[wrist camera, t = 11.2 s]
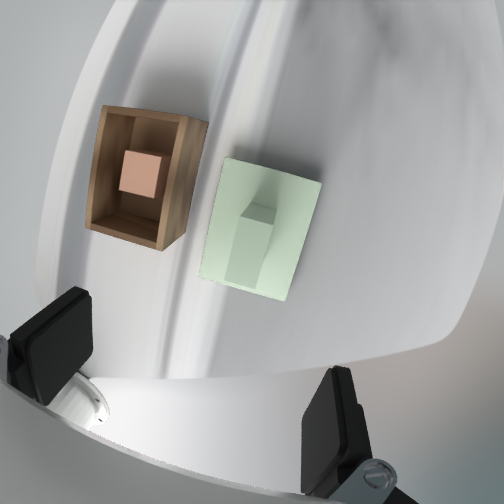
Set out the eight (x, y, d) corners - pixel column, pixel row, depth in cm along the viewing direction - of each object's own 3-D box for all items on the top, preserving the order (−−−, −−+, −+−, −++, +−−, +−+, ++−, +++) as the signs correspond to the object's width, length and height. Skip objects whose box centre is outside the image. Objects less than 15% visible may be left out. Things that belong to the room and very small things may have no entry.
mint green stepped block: (285, 292, 32) (282, 335, 24) (203, 269, 32) (178, 305, 24) (319, 181, 28) (330, 192, 20) (229, 156, 28) (207, 159, 21)
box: (184, 232, 31) (162, 251, 25) (117, 213, 31) (85, 227, 25) (208, 122, 27) (188, 116, 21) (134, 110, 27) (102, 105, 22)
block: (169, 192, 29) (153, 198, 26) (136, 184, 29) (119, 189, 26) (176, 156, 28) (161, 157, 24) (143, 149, 28) (125, 150, 25)
